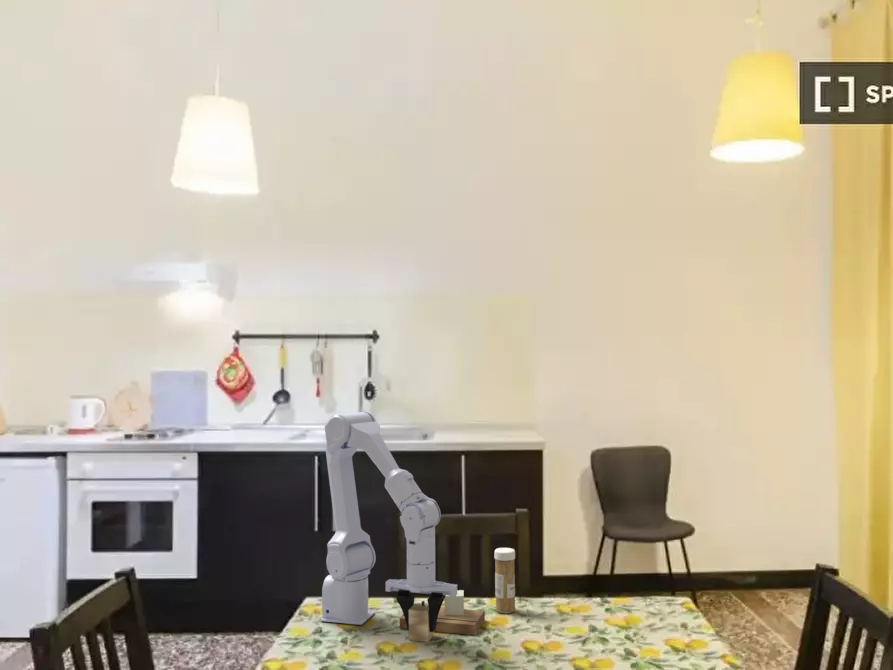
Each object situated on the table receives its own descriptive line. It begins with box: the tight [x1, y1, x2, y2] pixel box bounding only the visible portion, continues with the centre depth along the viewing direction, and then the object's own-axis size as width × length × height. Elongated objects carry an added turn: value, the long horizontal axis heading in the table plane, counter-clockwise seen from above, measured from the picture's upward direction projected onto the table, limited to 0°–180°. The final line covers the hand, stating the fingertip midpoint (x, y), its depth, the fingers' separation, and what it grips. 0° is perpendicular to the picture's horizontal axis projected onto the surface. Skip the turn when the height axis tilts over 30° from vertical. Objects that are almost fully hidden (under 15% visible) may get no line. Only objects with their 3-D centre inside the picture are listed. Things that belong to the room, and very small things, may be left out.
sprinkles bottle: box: [493, 547, 516, 615], centre depth 175 cm, size 5×5×14 cm
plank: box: [399, 606, 486, 636], centre depth 167 cm, size 16×9×2 cm, turn 74°
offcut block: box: [444, 589, 465, 615], centre depth 168 cm, size 4×4×4 cm
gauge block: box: [408, 600, 435, 643], centre depth 159 cm, size 4×4×7 cm
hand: (421, 629), depth 159 cm, fingers closed on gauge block, 4 cm apart
